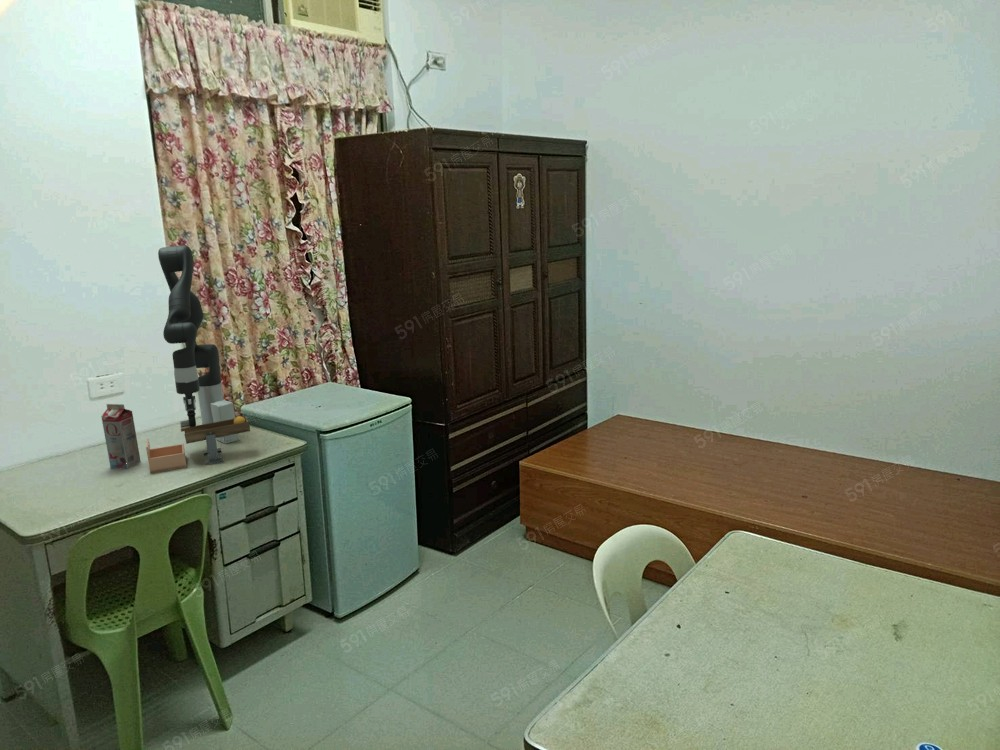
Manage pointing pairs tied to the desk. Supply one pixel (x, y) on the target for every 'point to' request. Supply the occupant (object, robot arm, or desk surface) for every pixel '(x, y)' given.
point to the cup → (166, 457)
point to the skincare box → (224, 417)
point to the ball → (239, 420)
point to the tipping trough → (213, 429)
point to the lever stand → (212, 450)
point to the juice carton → (120, 436)
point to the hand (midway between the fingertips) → (192, 423)
